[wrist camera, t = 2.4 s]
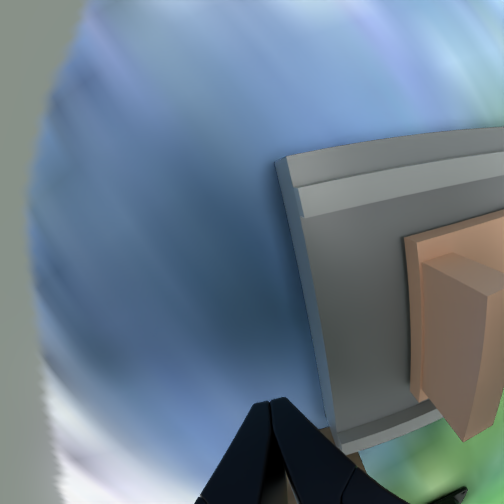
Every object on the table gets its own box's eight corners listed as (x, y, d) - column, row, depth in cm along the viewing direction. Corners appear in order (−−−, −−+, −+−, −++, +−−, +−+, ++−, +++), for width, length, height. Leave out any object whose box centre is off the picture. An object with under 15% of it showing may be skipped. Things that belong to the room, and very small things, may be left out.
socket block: (542, 316, 14) (577, 337, 10) (325, 415, 14) (343, 468, 11) (538, 127, 11) (584, 125, 8) (274, 162, 12) (289, 154, 8)
